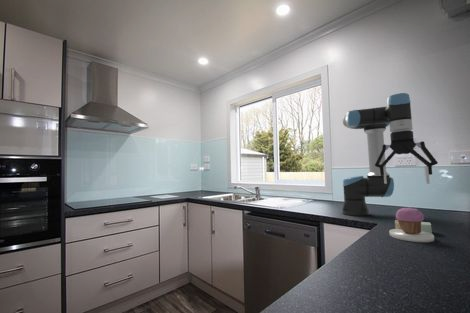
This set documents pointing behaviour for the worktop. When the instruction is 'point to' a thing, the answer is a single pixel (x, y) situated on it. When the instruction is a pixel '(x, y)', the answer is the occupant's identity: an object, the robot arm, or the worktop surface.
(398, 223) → the beech brick
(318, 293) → the worktop surface
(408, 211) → the cupcake
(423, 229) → the sage block
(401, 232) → the plate
